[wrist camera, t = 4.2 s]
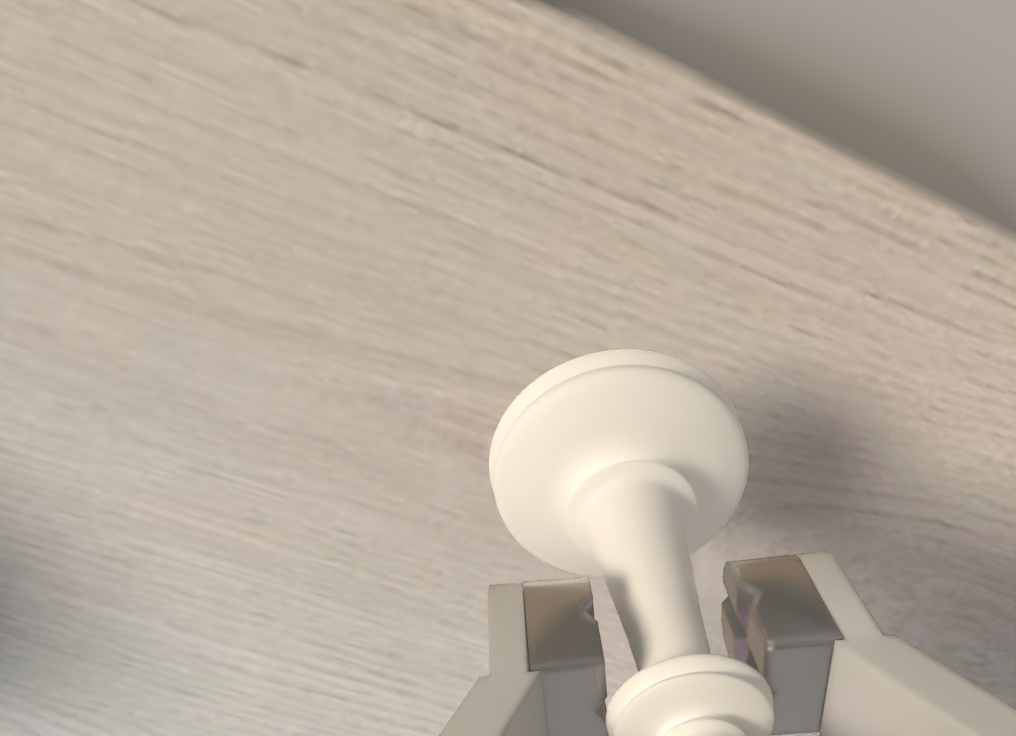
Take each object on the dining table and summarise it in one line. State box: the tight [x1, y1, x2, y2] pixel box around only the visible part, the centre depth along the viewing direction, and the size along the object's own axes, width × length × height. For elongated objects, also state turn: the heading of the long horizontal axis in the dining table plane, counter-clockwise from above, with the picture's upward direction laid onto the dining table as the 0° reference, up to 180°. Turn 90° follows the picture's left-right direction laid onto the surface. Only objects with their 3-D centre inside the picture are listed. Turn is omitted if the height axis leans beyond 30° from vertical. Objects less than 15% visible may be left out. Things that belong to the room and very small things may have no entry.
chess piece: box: [489, 349, 774, 736], centre depth 10 cm, size 5×5×10 cm
